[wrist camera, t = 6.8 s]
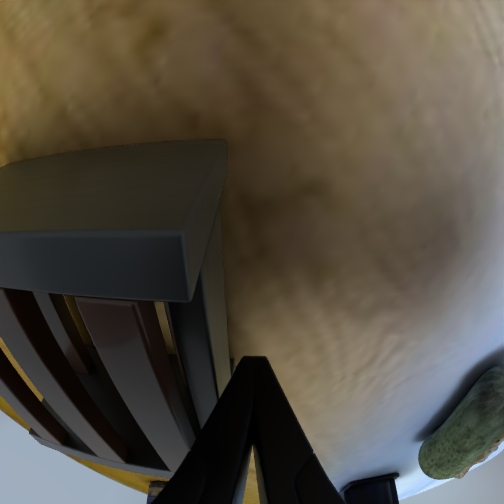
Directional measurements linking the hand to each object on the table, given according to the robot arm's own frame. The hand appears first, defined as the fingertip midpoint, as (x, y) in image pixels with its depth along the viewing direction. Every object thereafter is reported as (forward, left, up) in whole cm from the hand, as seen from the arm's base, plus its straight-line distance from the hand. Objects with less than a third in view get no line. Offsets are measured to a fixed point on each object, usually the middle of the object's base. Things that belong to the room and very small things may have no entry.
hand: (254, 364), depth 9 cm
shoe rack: (+5, 0, -4) cm, 7 cm away
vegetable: (-19, +13, -2) cm, 23 cm away
